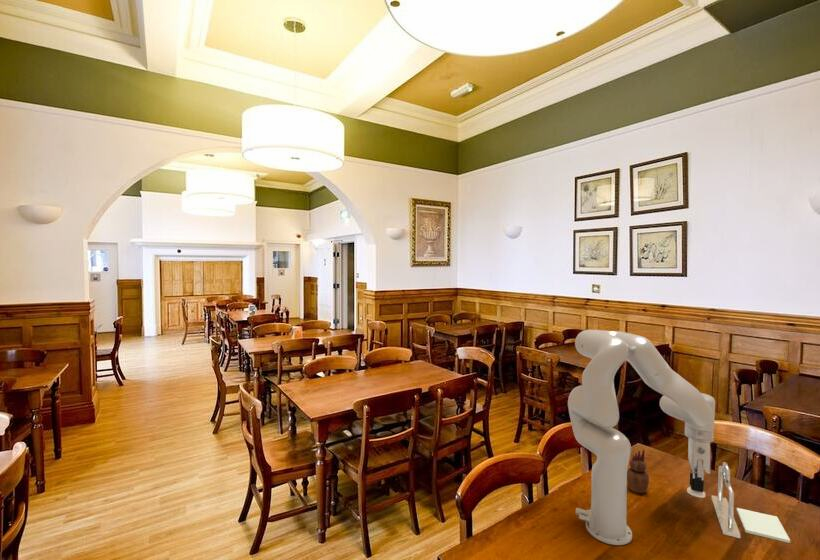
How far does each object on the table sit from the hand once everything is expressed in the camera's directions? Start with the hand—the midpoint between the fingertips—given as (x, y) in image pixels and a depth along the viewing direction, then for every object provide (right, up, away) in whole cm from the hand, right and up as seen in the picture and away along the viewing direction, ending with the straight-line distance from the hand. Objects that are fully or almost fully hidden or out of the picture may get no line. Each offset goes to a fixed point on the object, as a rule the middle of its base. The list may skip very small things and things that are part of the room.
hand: (696, 488), depth 130 cm
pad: (+15, -8, -7) cm, 18 cm away
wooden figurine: (-12, -7, +12) cm, 19 cm away
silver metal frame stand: (+7, -8, -3) cm, 11 cm away
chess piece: (0, -2, 0) cm, 2 cm away
